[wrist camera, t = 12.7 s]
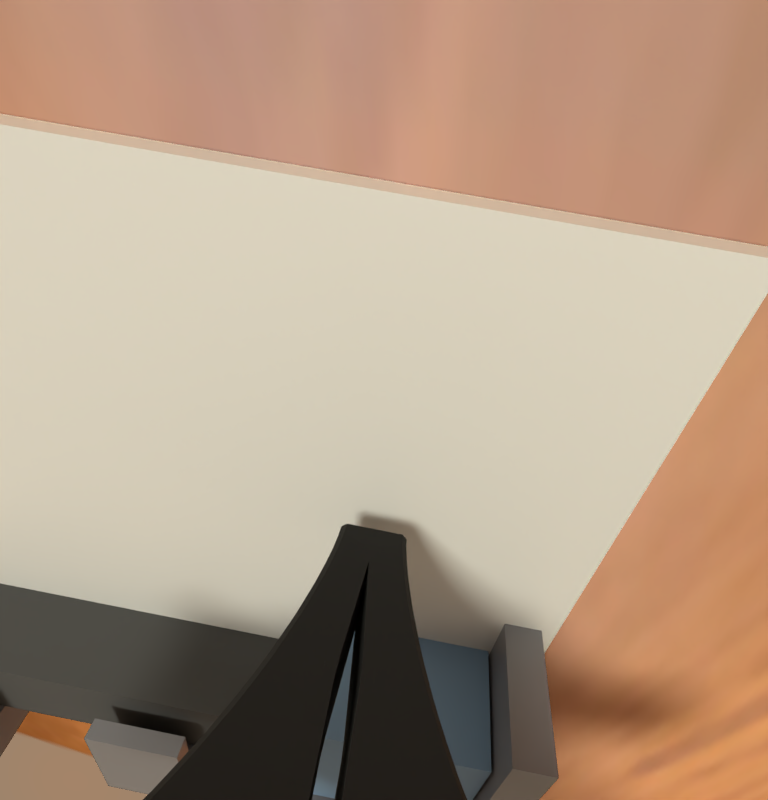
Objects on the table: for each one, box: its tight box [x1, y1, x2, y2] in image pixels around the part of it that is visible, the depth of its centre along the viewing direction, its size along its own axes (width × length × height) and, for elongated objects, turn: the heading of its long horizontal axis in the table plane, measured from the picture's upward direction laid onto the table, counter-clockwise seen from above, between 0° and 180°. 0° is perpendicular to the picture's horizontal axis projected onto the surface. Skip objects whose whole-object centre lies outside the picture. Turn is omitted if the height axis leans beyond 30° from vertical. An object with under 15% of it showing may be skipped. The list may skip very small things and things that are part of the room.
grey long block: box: [0, 583, 491, 800], centre depth 15 cm, size 16×4×3 cm, turn 83°
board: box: [0, 114, 768, 800], centre depth 13 cm, size 20×20×4 cm
